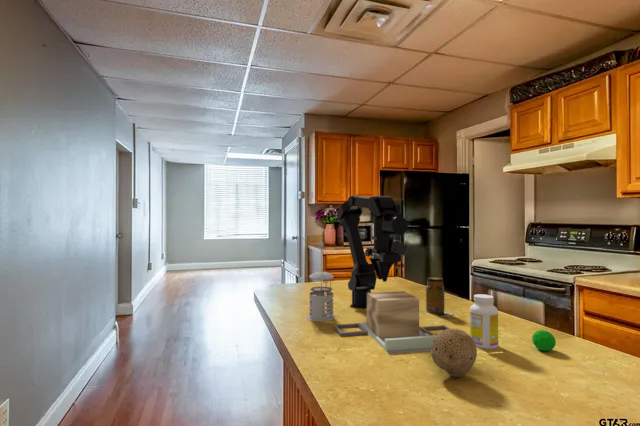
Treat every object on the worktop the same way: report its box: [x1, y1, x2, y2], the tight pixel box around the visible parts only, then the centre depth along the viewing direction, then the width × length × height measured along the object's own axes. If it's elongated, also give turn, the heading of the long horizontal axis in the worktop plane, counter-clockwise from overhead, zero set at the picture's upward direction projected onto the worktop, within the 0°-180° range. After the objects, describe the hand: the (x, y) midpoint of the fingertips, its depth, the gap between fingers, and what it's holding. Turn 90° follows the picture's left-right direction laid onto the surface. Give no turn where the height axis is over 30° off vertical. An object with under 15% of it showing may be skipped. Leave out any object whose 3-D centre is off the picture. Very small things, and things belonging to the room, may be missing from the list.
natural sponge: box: [430, 328, 478, 378], centre depth 76 cm, size 9×9×10 cm
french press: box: [306, 241, 336, 323], centre depth 120 cm, size 10×12×25 cm
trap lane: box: [333, 322, 451, 355], centre depth 101 cm, size 25×32×3 cm
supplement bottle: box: [469, 293, 499, 350], centre depth 94 cm, size 7×7×13 cm
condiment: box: [425, 276, 454, 318], centre depth 125 cm, size 7×8×12 cm
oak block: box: [366, 291, 420, 337], centre depth 105 cm, size 10×12×10 cm
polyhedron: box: [531, 329, 557, 352], centre depth 91 cm, size 5×5×5 cm
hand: (382, 280), depth 121 cm, fingers open, 4 cm apart
